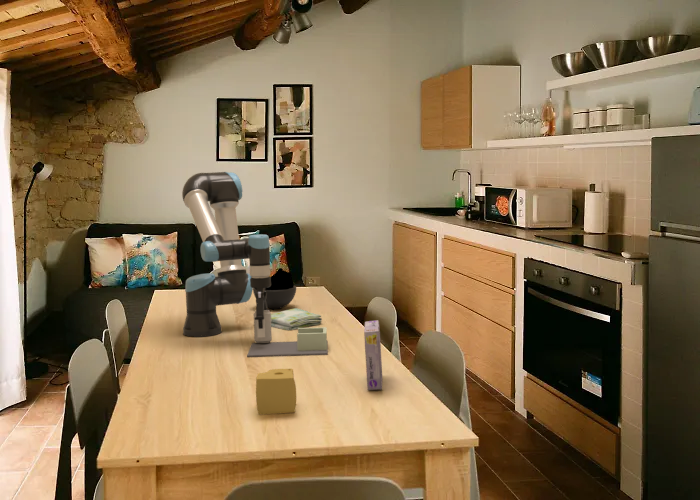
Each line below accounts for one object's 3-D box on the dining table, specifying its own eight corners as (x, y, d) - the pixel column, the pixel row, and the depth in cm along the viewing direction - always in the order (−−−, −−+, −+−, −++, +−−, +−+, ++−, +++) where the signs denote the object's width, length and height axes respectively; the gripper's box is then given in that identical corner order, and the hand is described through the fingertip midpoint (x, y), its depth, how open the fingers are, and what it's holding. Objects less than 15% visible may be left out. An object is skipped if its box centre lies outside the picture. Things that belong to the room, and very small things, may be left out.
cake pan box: (366, 374, 251) (365, 319, 250) (382, 374, 251) (381, 318, 249) (365, 391, 232) (364, 331, 230) (382, 391, 232) (381, 331, 230)
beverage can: (268, 343, 293) (268, 310, 293) (252, 343, 294) (251, 310, 294) (273, 341, 299) (273, 309, 299) (257, 342, 300) (256, 310, 301)
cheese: (257, 404, 223) (256, 369, 222) (296, 402, 224) (295, 367, 223) (256, 415, 213) (255, 379, 211) (297, 413, 213) (295, 377, 212)
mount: (252, 344, 297) (251, 326, 297) (327, 342, 298) (327, 324, 297) (247, 357, 277) (246, 338, 277) (327, 354, 278) (327, 336, 277)
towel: (289, 332, 320) (288, 319, 319) (258, 324, 335) (258, 312, 335) (324, 325, 331) (324, 313, 331) (293, 318, 347) (293, 307, 347)
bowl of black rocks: (305, 306, 373) (304, 266, 371) (279, 314, 356) (277, 272, 354) (271, 303, 384) (270, 264, 382) (244, 310, 367) (243, 270, 365)
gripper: (268, 280, 281) (270, 339, 283) (272, 272, 306) (275, 326, 308) (246, 281, 281) (249, 340, 283) (253, 272, 306) (255, 327, 308)
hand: (262, 333), depth 296 cm, fingers open, 13 cm apart
